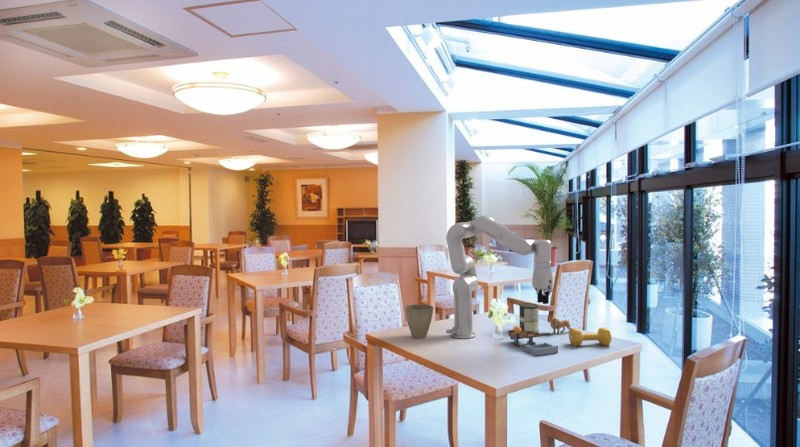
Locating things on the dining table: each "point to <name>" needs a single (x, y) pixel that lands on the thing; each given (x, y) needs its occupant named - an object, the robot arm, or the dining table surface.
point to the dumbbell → (590, 336)
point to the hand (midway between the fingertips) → (543, 302)
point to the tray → (541, 349)
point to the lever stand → (517, 341)
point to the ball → (517, 329)
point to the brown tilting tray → (526, 334)
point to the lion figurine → (559, 325)
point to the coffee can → (529, 317)
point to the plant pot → (419, 319)
